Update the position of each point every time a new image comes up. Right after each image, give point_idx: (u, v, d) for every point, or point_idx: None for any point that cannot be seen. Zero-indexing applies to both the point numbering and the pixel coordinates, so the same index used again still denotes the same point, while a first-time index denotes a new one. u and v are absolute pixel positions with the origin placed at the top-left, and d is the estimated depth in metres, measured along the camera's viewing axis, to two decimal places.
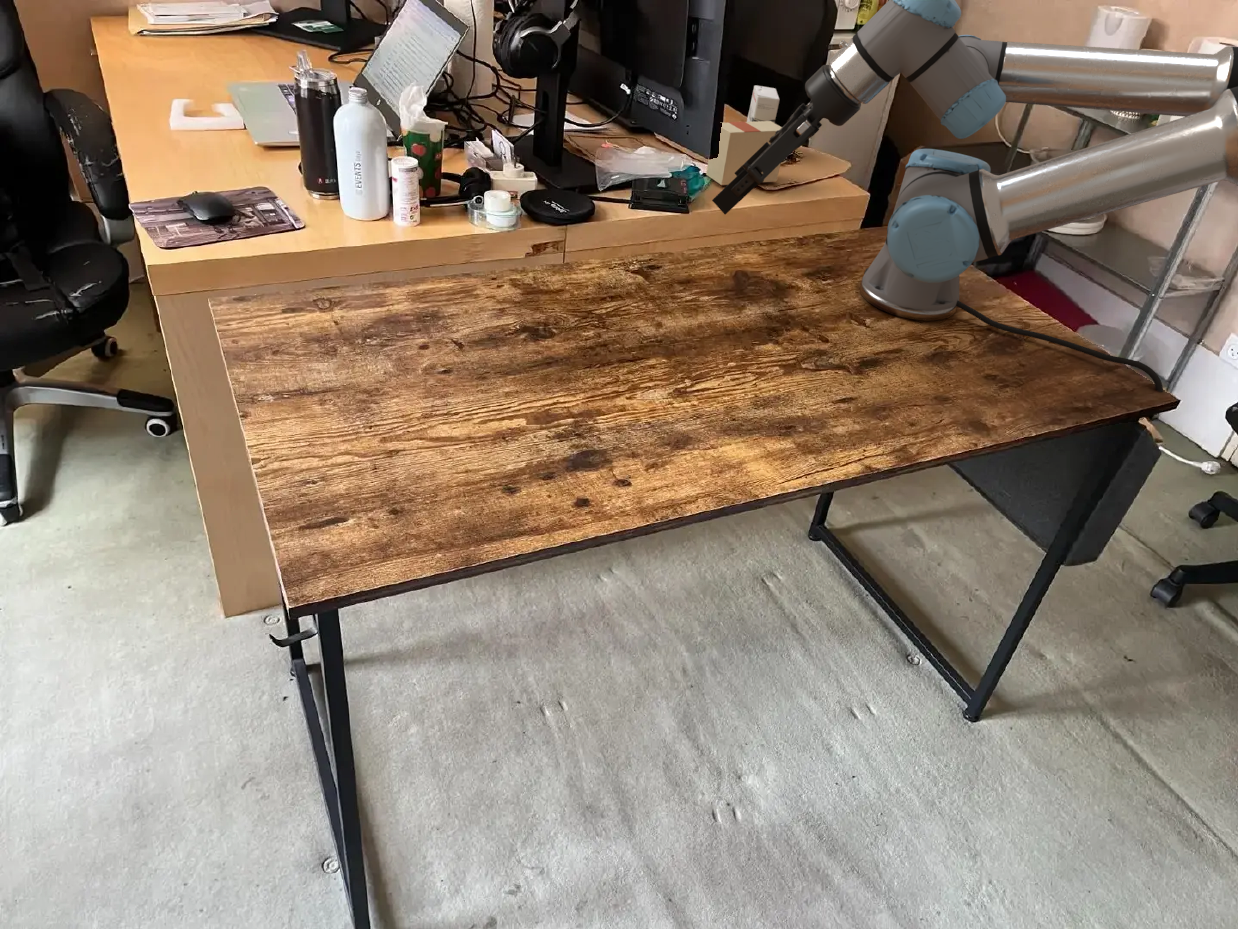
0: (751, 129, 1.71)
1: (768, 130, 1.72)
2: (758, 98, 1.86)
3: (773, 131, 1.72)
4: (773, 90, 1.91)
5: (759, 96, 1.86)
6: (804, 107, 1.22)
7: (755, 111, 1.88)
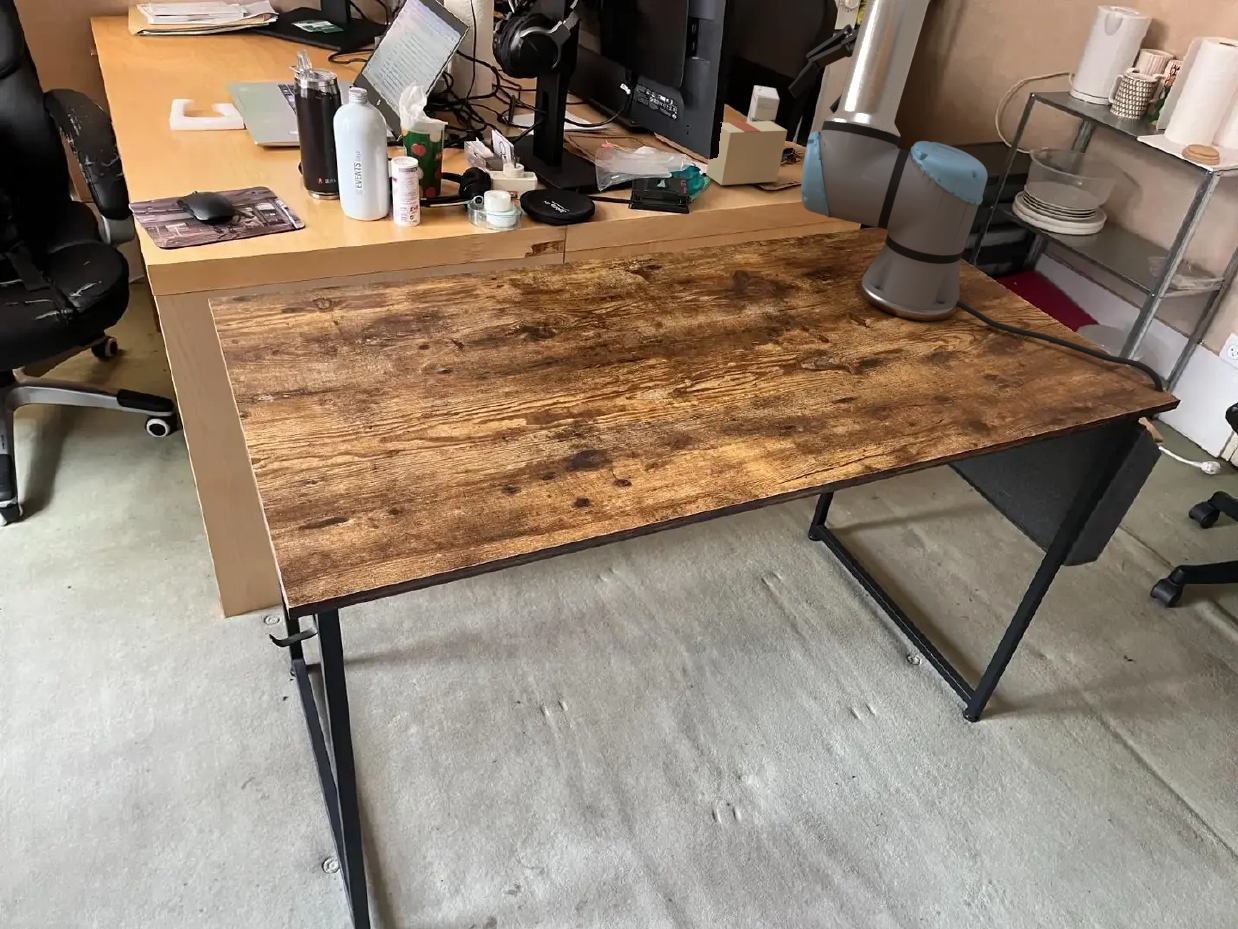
0: (751, 129, 1.71)
1: (768, 130, 1.72)
2: (758, 98, 1.86)
3: (773, 131, 1.72)
4: (773, 90, 1.91)
5: (759, 96, 1.86)
6: None
7: (755, 111, 1.88)
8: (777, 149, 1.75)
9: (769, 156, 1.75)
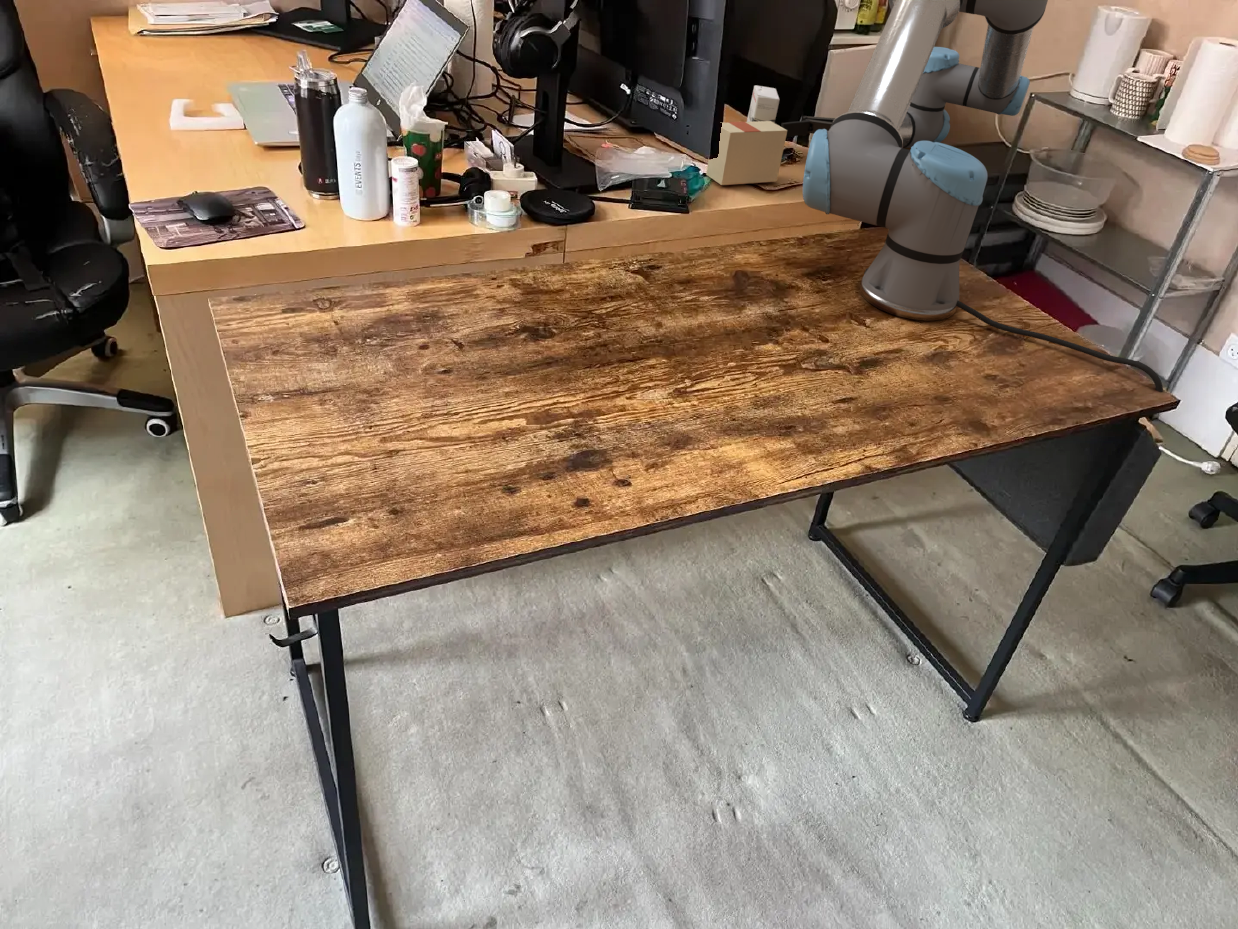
0: (751, 129, 1.71)
1: (768, 130, 1.72)
2: (758, 98, 1.86)
3: (773, 131, 1.72)
4: (773, 90, 1.91)
5: (759, 96, 1.86)
6: None
7: (755, 111, 1.88)
8: (777, 149, 1.75)
9: (769, 156, 1.75)
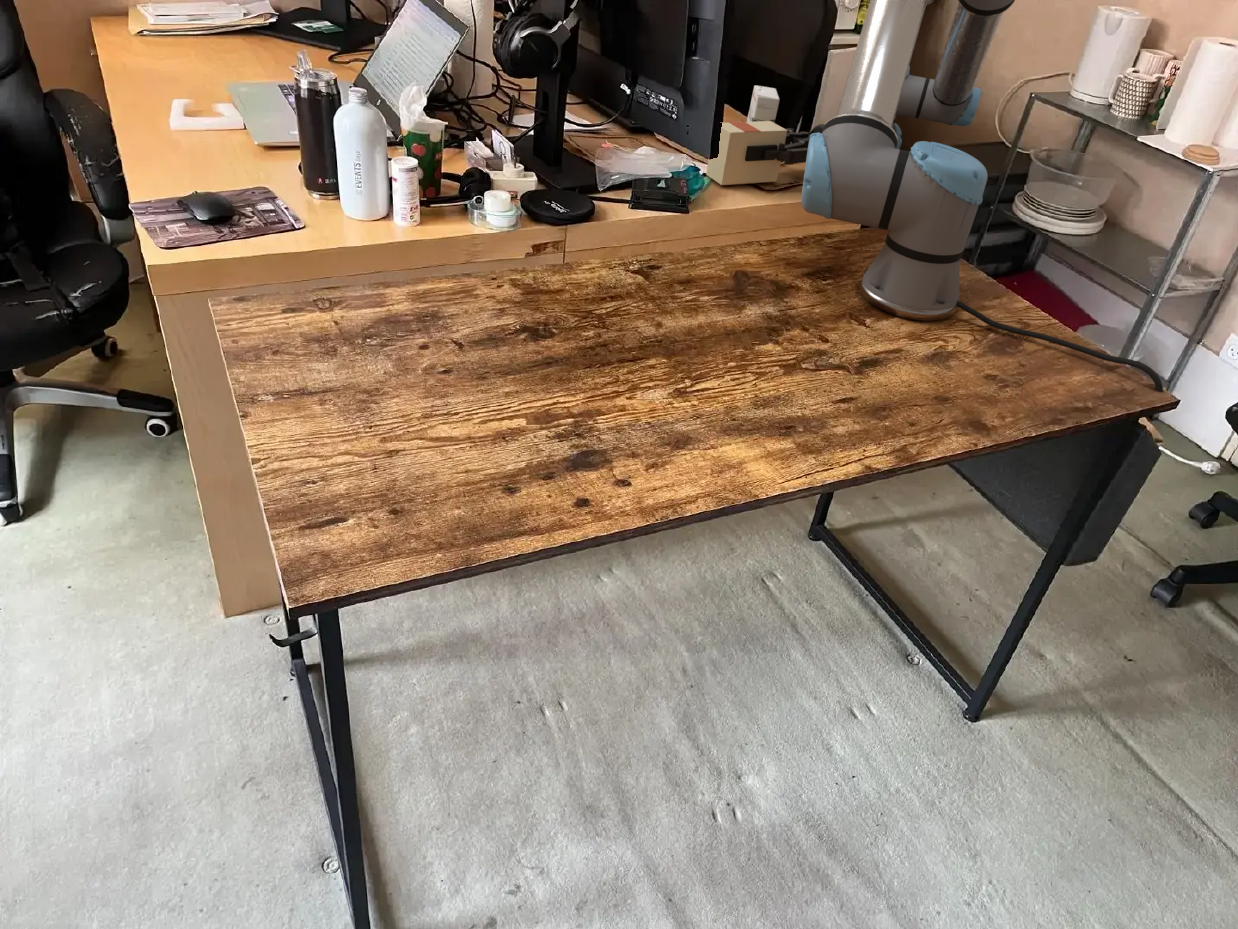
0: (751, 129, 1.71)
1: (768, 130, 1.72)
2: (758, 98, 1.86)
3: (773, 131, 1.72)
4: (773, 90, 1.91)
5: (759, 96, 1.86)
6: None
7: (755, 111, 1.88)
8: None
9: None
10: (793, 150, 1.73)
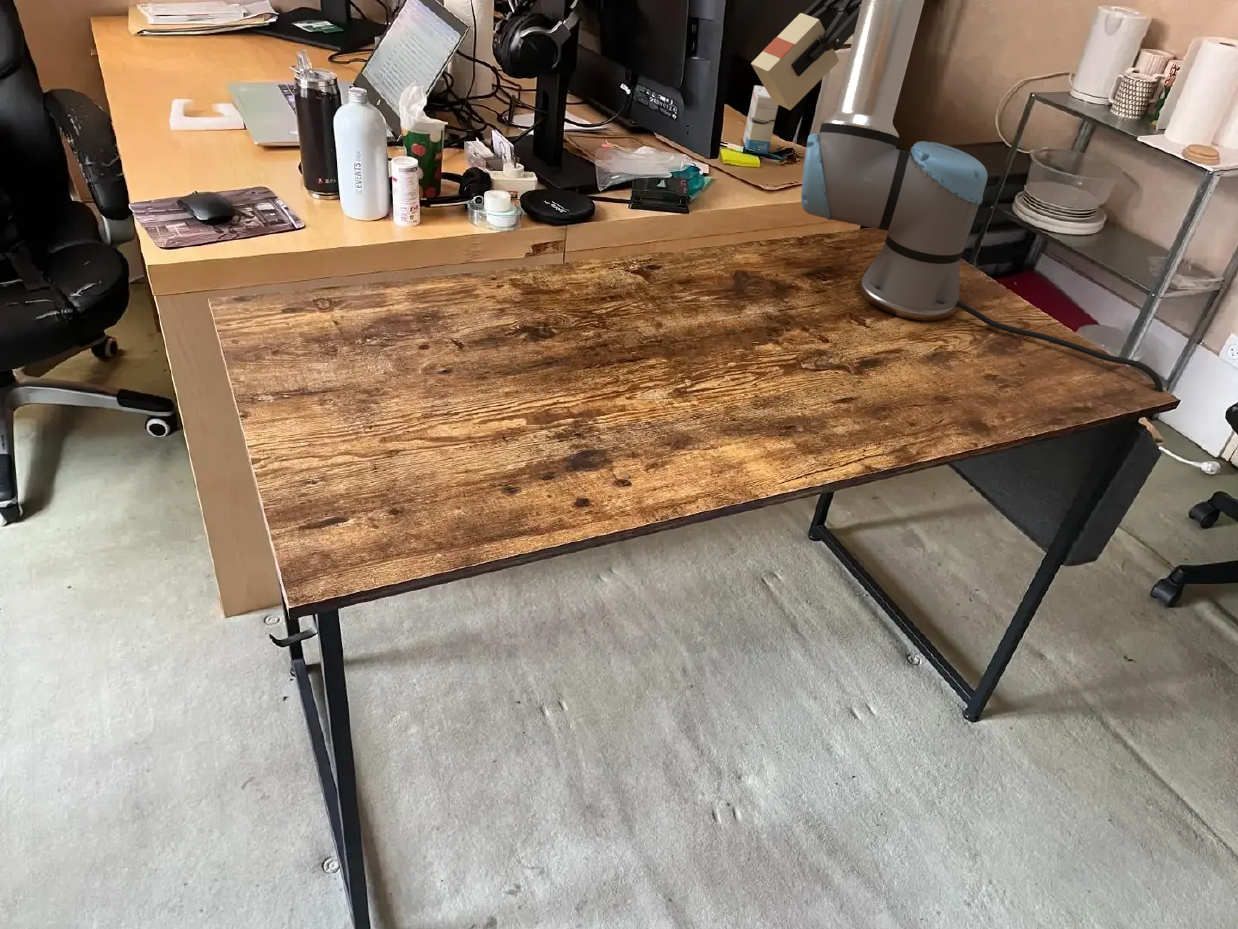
0: (785, 48, 1.68)
1: (801, 35, 1.68)
2: (758, 98, 1.86)
3: (806, 32, 1.67)
4: None
5: (759, 96, 1.86)
6: None
7: (755, 111, 1.88)
8: None
9: None
10: (835, 35, 1.67)
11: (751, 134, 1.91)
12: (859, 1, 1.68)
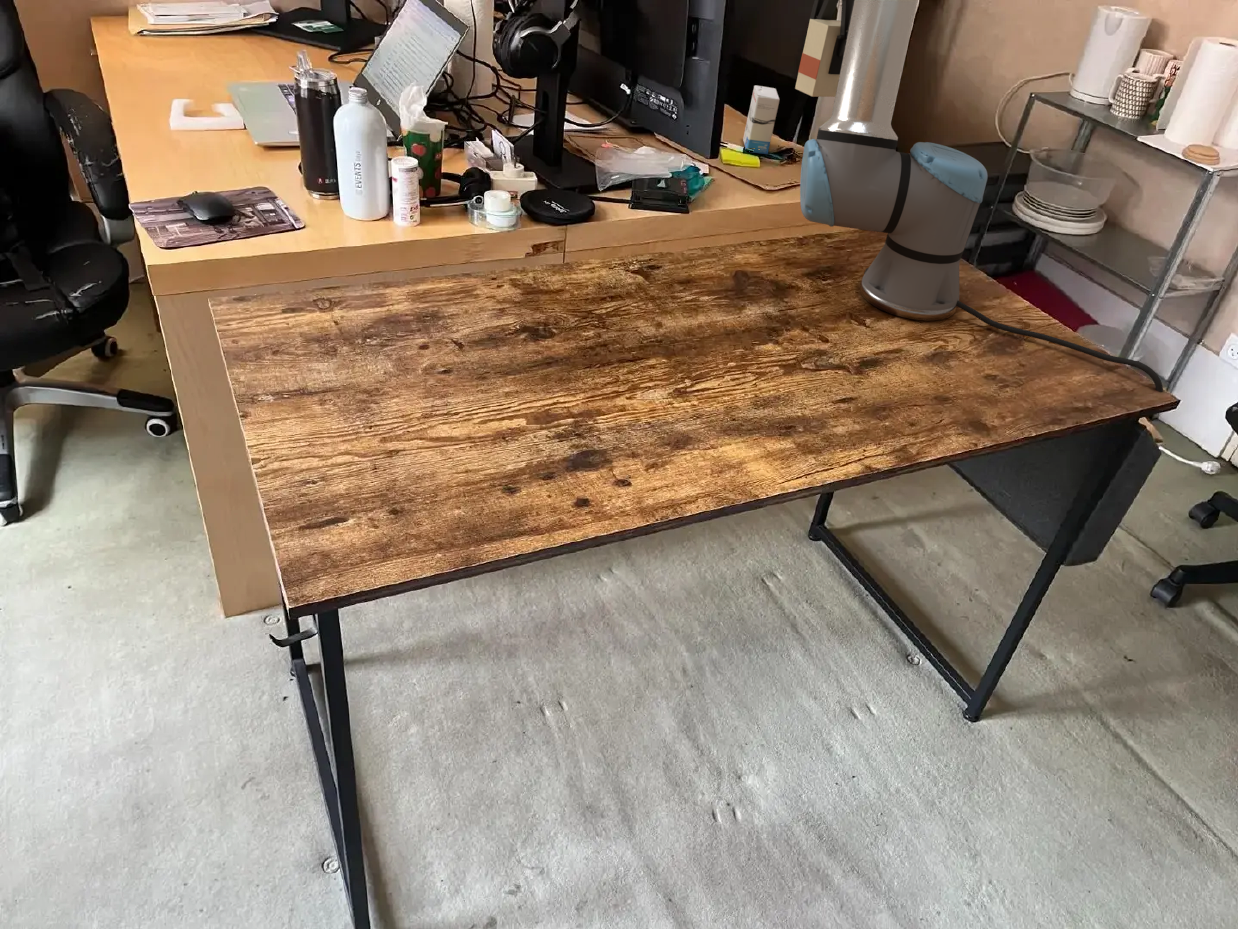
0: (815, 66, 1.77)
1: (822, 48, 1.75)
2: (758, 98, 1.86)
3: (824, 43, 1.74)
4: (773, 90, 1.91)
5: (759, 96, 1.86)
6: None
7: (755, 111, 1.88)
8: None
9: None
10: None
11: (751, 134, 1.91)
12: None
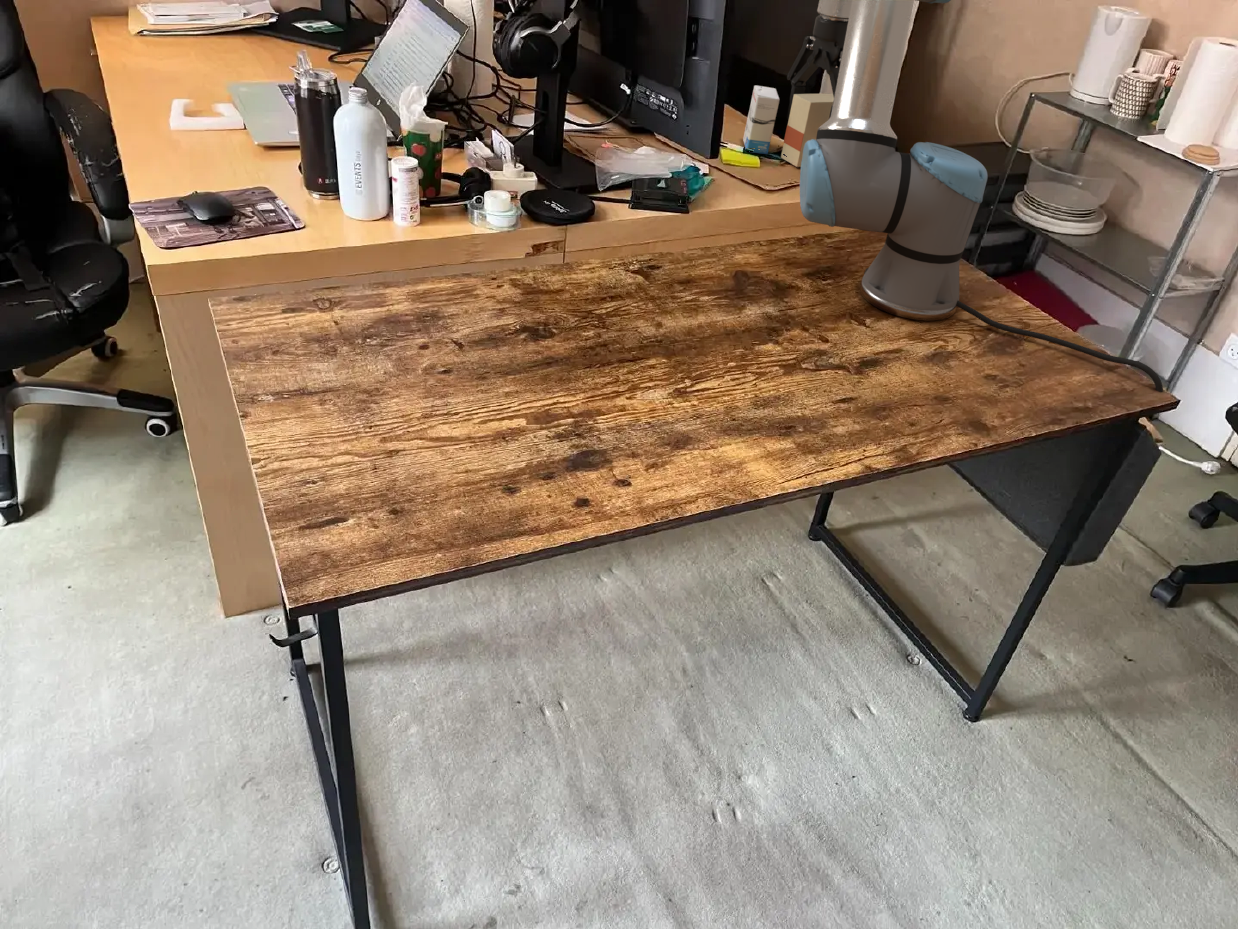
0: (799, 139, 1.86)
1: (805, 123, 1.84)
2: (758, 98, 1.86)
3: (807, 118, 1.83)
4: (773, 90, 1.91)
5: (759, 96, 1.86)
6: None
7: (755, 111, 1.88)
8: (823, 109, 1.83)
9: (826, 117, 1.85)
10: None
11: (751, 134, 1.91)
12: (835, 58, 1.77)
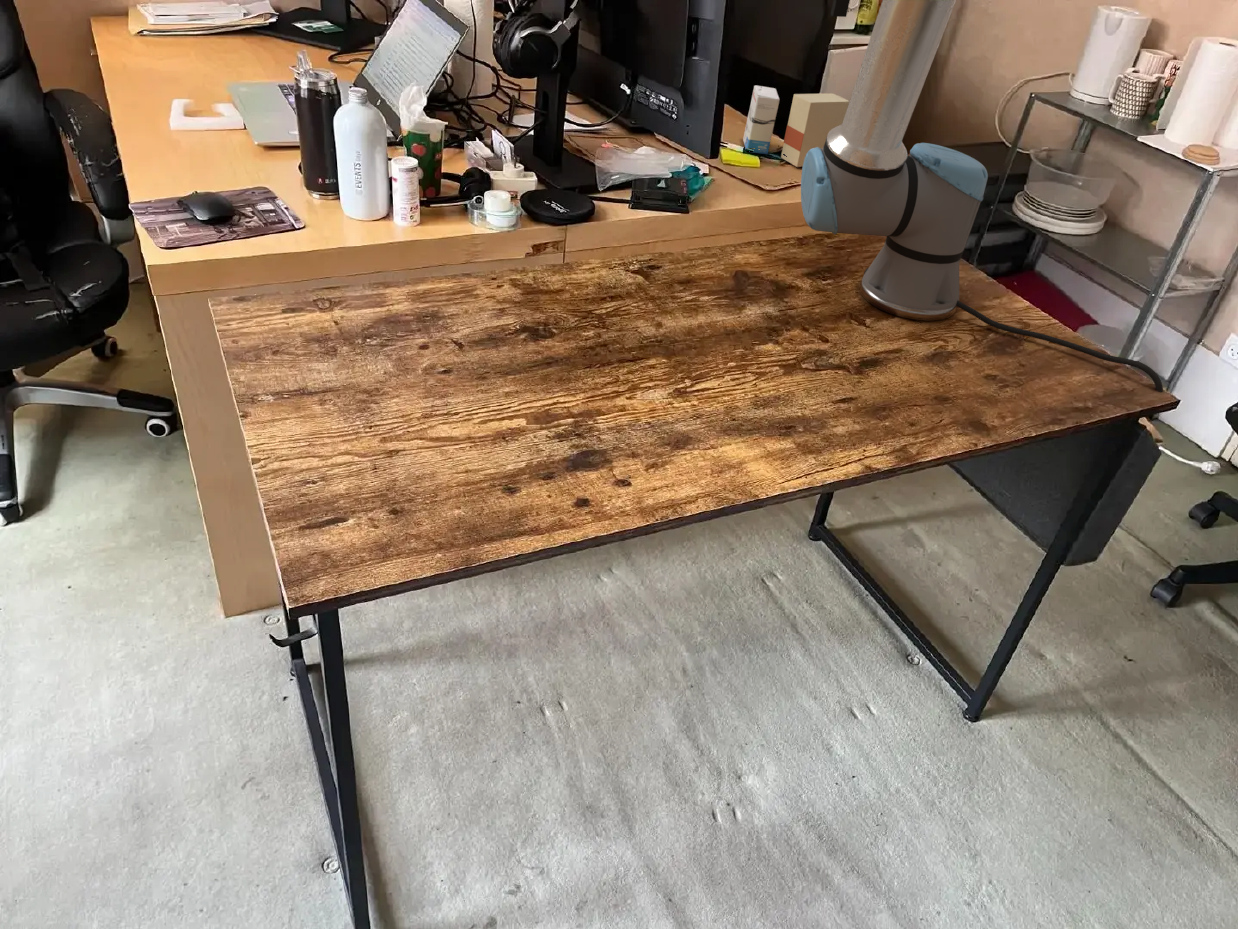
0: (799, 139, 1.86)
1: (805, 123, 1.84)
2: (758, 98, 1.86)
3: (807, 118, 1.83)
4: (773, 90, 1.91)
5: (759, 96, 1.86)
6: None
7: (755, 111, 1.88)
8: (824, 109, 1.83)
9: (826, 117, 1.85)
10: None
11: (751, 134, 1.91)
12: None
